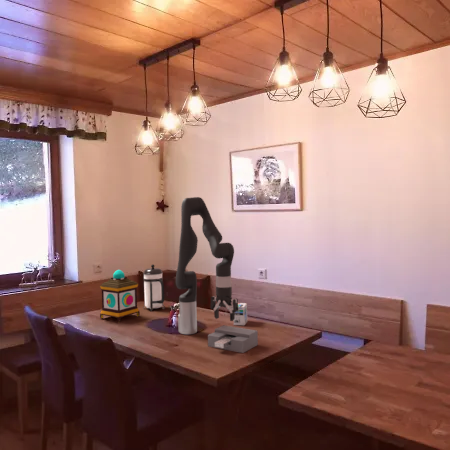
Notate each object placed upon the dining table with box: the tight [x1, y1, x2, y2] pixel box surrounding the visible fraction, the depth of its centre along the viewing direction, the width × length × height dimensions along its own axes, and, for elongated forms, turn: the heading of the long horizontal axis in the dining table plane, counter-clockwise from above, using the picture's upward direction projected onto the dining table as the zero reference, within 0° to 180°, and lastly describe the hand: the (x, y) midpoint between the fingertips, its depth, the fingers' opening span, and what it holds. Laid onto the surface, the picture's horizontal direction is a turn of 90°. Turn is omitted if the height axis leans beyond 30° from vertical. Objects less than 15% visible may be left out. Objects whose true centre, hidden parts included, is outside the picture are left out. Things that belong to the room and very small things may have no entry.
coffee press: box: [142, 264, 166, 312], centre depth 295 cm, size 17×16×30 cm
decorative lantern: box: [99, 269, 140, 323], centre depth 274 cm, size 20×20×30 cm
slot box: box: [207, 325, 259, 354], centre depth 216 cm, size 20×14×7 cm
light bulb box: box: [233, 302, 248, 326], centre depth 256 cm, size 11×7×11 cm, turn 168°
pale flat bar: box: [214, 335, 237, 349], centre depth 211 cm, size 5×14×2 cm, turn 147°
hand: (224, 319), depth 208 cm, fingers open, 8 cm apart
